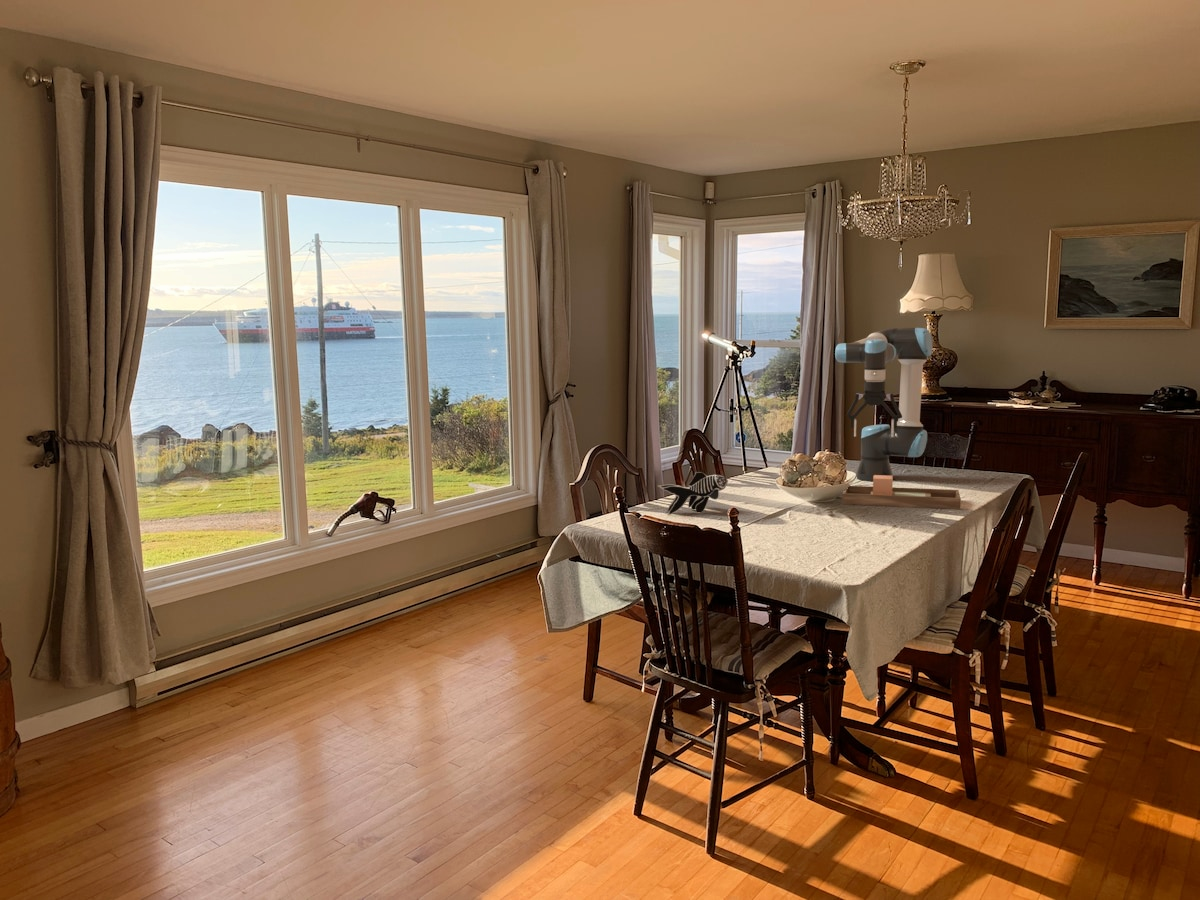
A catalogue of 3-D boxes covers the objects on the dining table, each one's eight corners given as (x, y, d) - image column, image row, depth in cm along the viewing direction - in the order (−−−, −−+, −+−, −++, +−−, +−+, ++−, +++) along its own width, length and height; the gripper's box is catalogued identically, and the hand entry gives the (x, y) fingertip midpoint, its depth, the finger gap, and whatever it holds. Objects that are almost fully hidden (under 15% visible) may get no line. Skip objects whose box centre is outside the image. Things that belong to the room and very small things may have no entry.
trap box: (844, 495, 359) (845, 485, 358) (958, 500, 345) (958, 489, 344) (842, 504, 344) (842, 493, 343) (960, 509, 330) (960, 498, 330)
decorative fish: (740, 505, 332) (731, 467, 329) (672, 525, 327) (663, 486, 324) (725, 497, 347) (717, 460, 344) (660, 516, 342) (652, 478, 339)
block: (873, 492, 350) (873, 475, 349) (892, 493, 348) (892, 475, 347) (872, 496, 344) (873, 478, 343) (892, 497, 342) (892, 479, 340)
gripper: (840, 381, 339) (839, 437, 343) (910, 381, 332) (908, 438, 336) (840, 379, 346) (839, 434, 350) (909, 379, 339) (907, 435, 343)
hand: (873, 436), depth 343 cm, fingers open, 13 cm apart
